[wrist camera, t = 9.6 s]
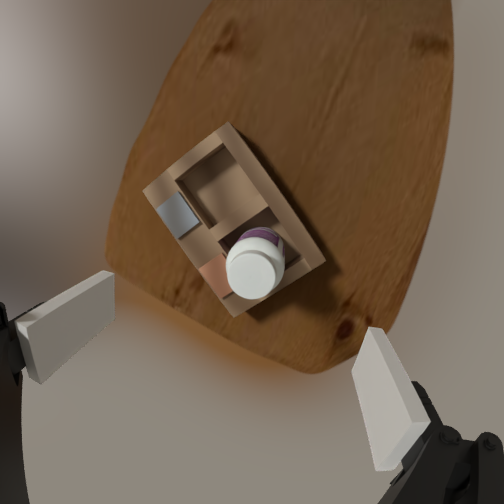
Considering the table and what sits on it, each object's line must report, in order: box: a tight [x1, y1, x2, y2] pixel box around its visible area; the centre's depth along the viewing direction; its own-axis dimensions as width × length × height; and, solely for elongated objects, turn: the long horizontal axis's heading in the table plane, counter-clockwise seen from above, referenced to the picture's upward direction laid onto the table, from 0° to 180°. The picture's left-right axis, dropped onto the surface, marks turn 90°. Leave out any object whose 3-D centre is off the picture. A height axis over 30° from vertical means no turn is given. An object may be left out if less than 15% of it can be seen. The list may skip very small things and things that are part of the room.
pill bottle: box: [226, 227, 285, 299], centre depth 28 cm, size 5×5×10 cm
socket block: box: [143, 121, 326, 318], centre depth 31 cm, size 12×18×4 cm
